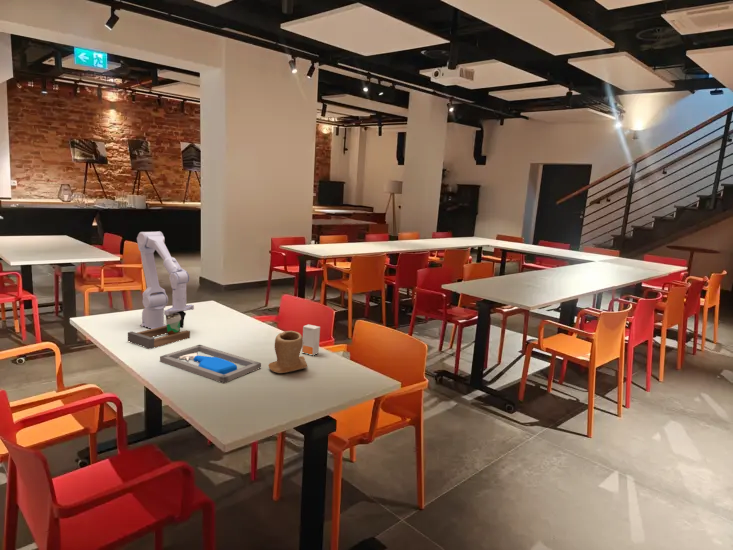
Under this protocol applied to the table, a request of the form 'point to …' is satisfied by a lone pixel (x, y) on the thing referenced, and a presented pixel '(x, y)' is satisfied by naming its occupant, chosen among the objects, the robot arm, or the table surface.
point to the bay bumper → (141, 339)
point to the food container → (173, 323)
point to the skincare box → (311, 339)
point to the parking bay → (165, 339)
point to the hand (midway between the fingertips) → (179, 327)
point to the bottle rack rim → (173, 361)
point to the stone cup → (288, 353)
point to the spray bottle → (212, 363)
